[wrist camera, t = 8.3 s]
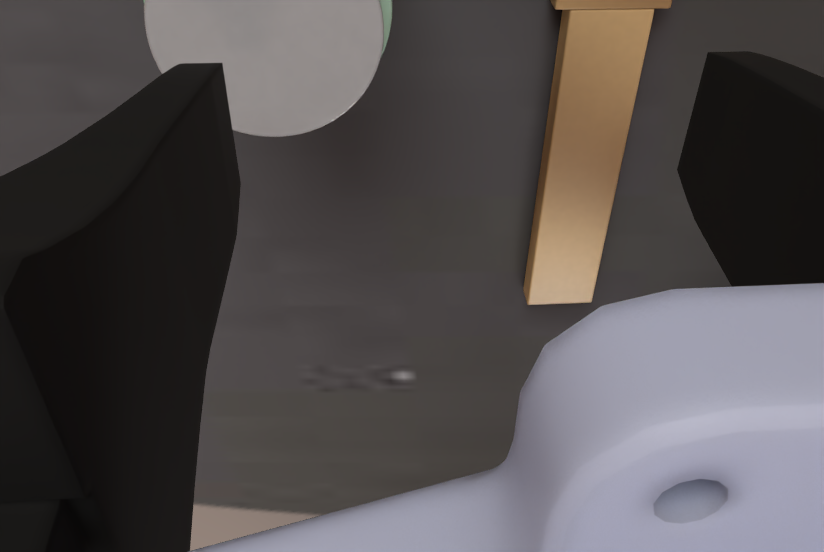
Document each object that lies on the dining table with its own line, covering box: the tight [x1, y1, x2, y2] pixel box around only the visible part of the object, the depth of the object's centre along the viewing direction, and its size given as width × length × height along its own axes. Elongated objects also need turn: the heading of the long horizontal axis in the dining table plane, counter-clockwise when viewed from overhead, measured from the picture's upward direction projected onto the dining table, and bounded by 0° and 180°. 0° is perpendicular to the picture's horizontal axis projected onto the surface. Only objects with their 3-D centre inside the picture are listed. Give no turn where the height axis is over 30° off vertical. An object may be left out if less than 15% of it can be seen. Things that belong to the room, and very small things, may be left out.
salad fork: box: [523, 0, 672, 305], centre depth 21 cm, size 18×5×1 cm, turn 179°
